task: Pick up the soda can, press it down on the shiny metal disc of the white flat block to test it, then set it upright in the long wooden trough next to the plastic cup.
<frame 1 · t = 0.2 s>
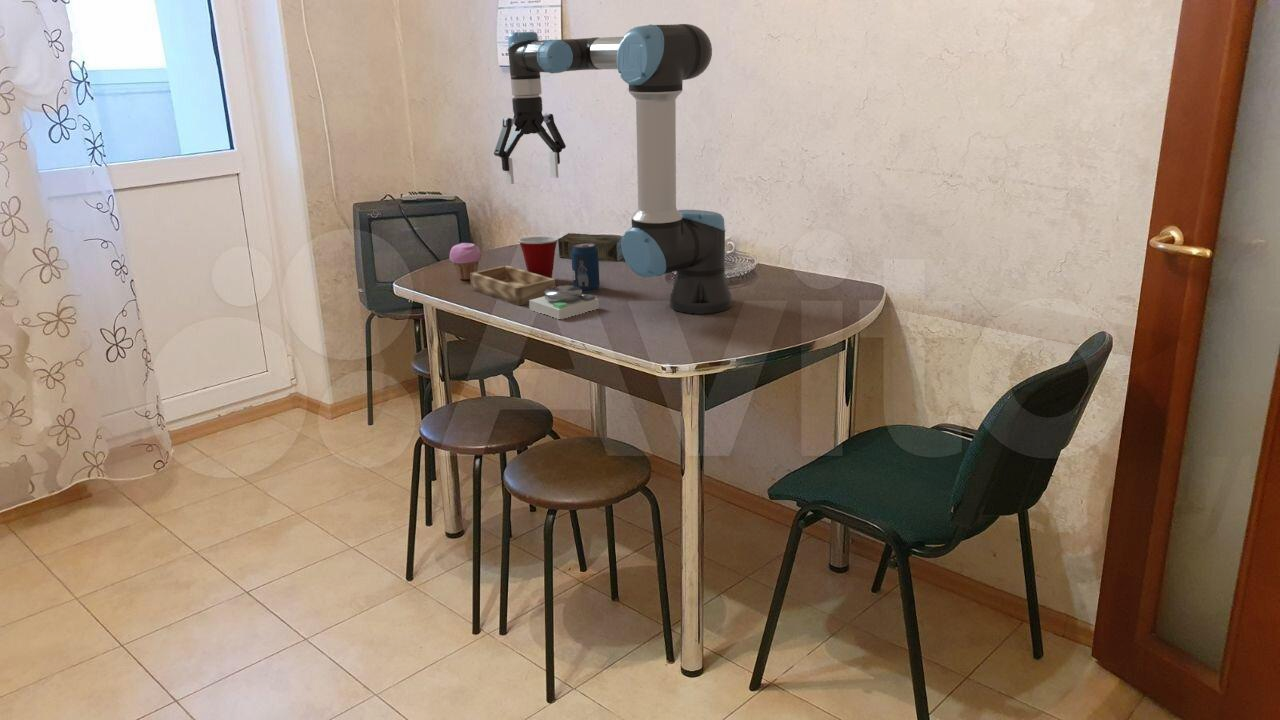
hand: (532, 180, 245), 27 cm above the table, tool pointing down, fingers open, 13 cm apart
plastic cup: (541, 281, 254), on the table
cupcake: (467, 278, 259), on the table
trough: (512, 292, 244), on the table
soda can: (586, 290, 244), on the table
shiny metal disc: (563, 293, 227), point 4 cm above the table, slide at 0.7 cm, touching white flat block
beverage carton: (593, 258, 279), on the table
white flat block: (564, 309, 228), on the table
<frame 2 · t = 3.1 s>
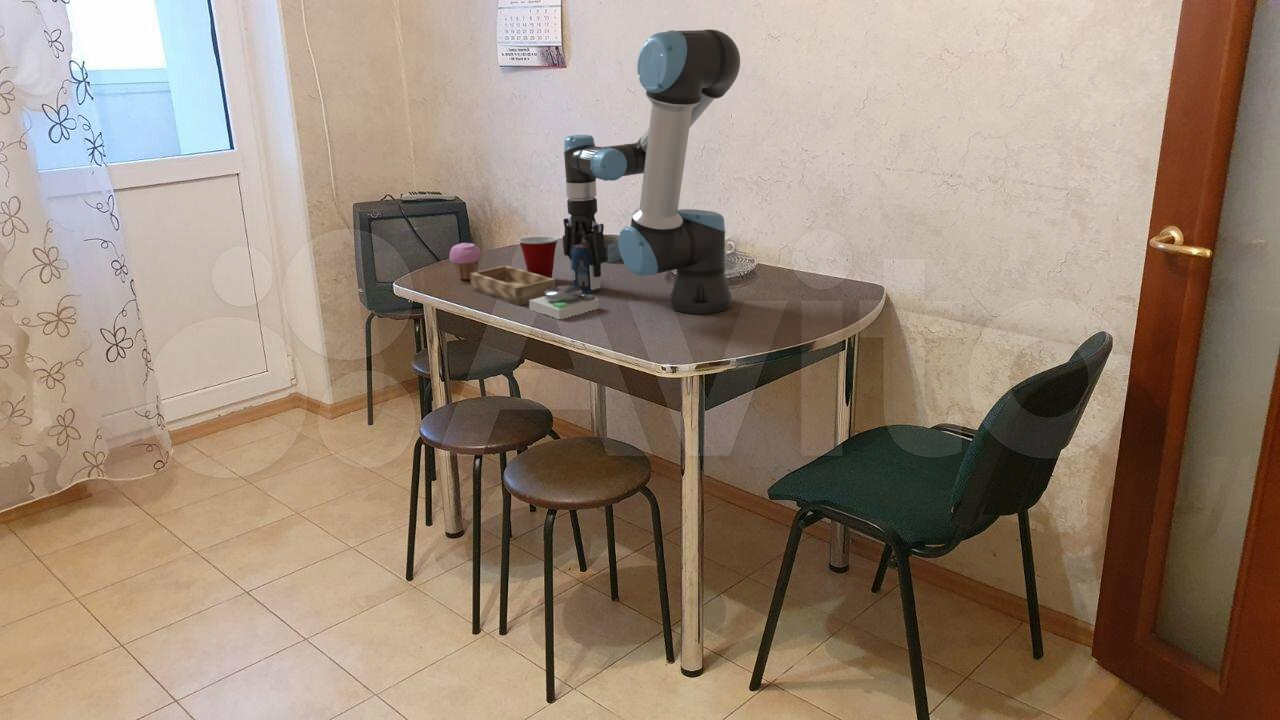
hand: (586, 285, 244), 1 cm above the table, tool pointing down, fingers closed on soda can, 7 cm apart
soda can: (586, 290, 244), on the table, touching gripper
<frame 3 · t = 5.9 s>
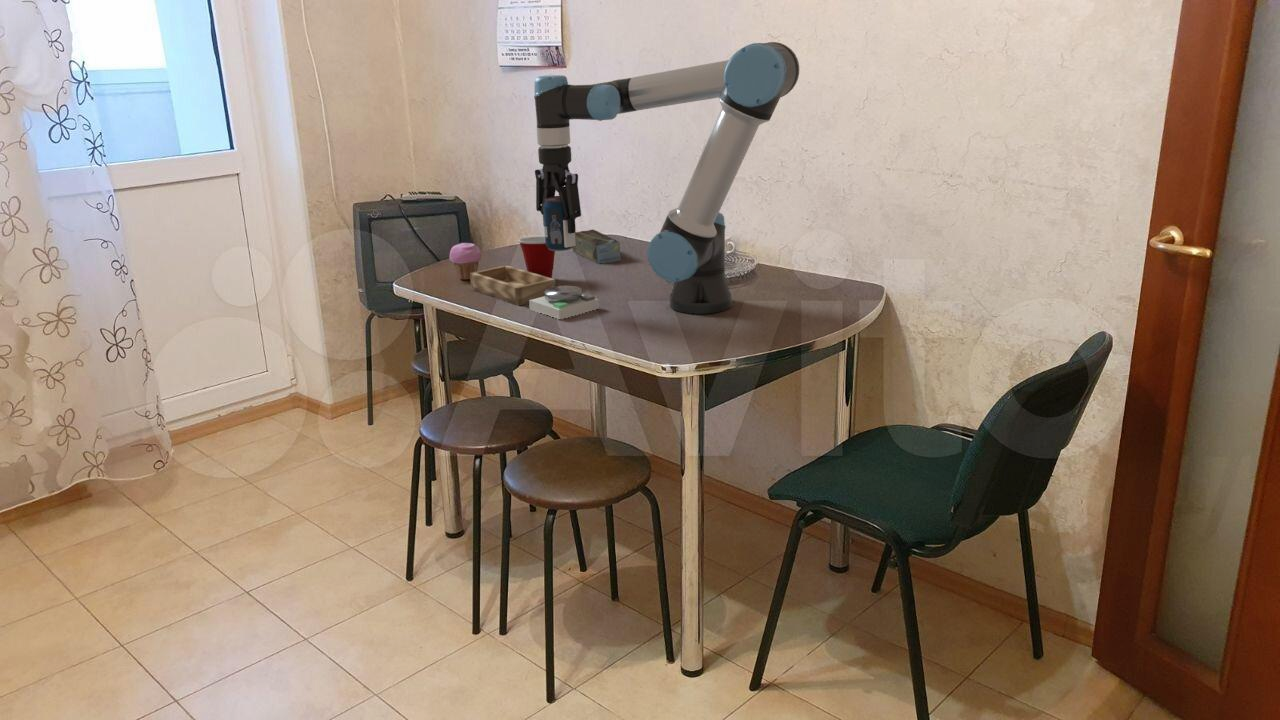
hand: (560, 243, 222), 16 cm above the table, tool pointing down, fingers closed on soda can, 7 cm apart
soda can: (560, 249, 223), point 15 cm above the table, touching gripper
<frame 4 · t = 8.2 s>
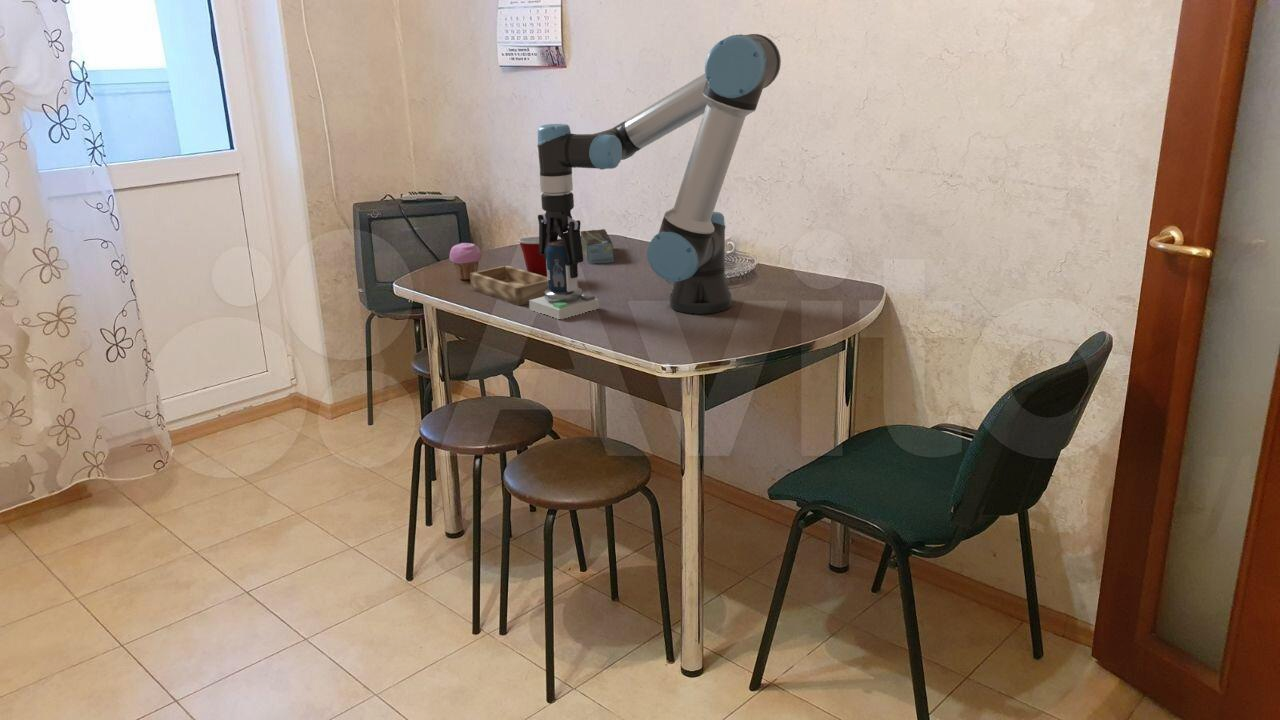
hand: (562, 287, 226), 6 cm above the table, tool pointing down, fingers closed on soda can, 7 cm apart
soda can: (562, 291, 226), point 5 cm above the table, touching gripper, shiny metal disc
shiny metal disc: (563, 293, 227), point 4 cm above the table, slide at 0.7 cm, touching white flat block, soda can
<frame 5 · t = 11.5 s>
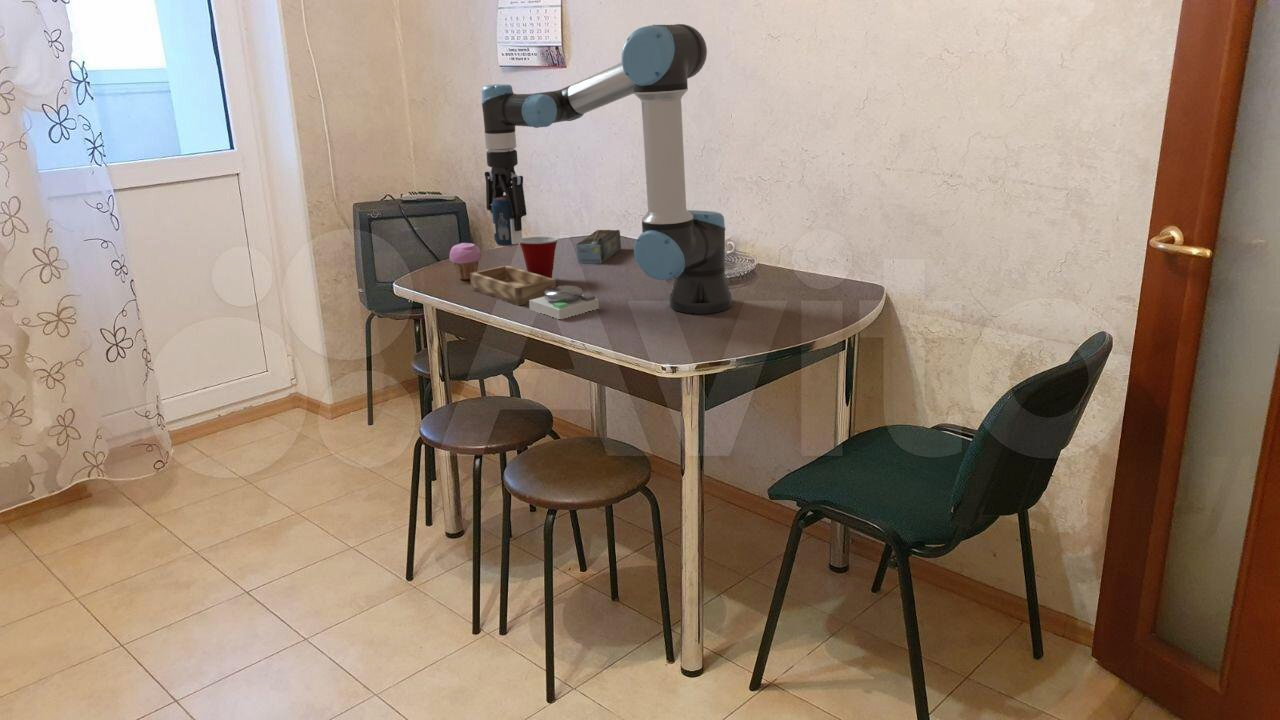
hand: (508, 240, 239), 14 cm above the table, tool pointing down, fingers closed on soda can, 7 cm apart
soda can: (508, 244, 239), point 13 cm above the table, touching gripper
shiny metal disc: (563, 293, 227), point 4 cm above the table, slide at 0.7 cm, touching white flat block
when the fingers open (4 cm above the table, at t = 13.5 s): soda can drops 2 cm, resting on trough.
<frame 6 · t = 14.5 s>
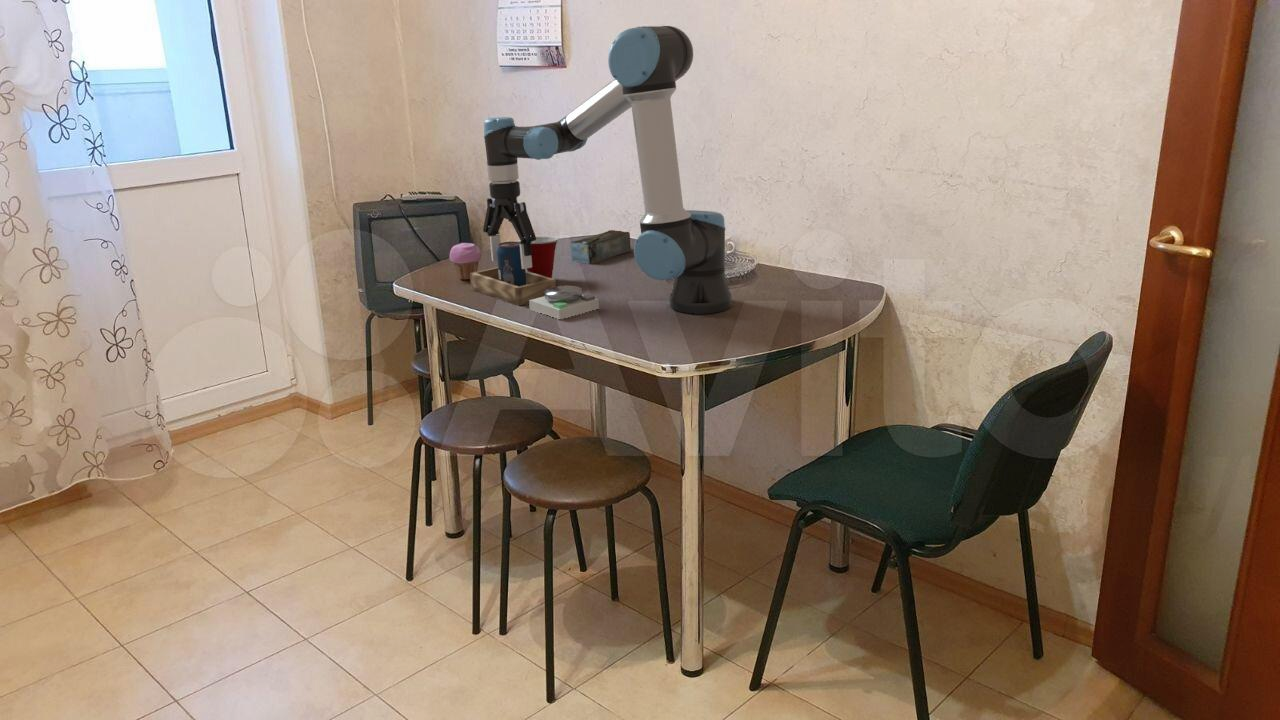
hand: (511, 264, 241), 8 cm above the table, tool pointing down, fingers open, 13 cm apart
soda can: (513, 290, 243), point 1 cm above the table, touching trough
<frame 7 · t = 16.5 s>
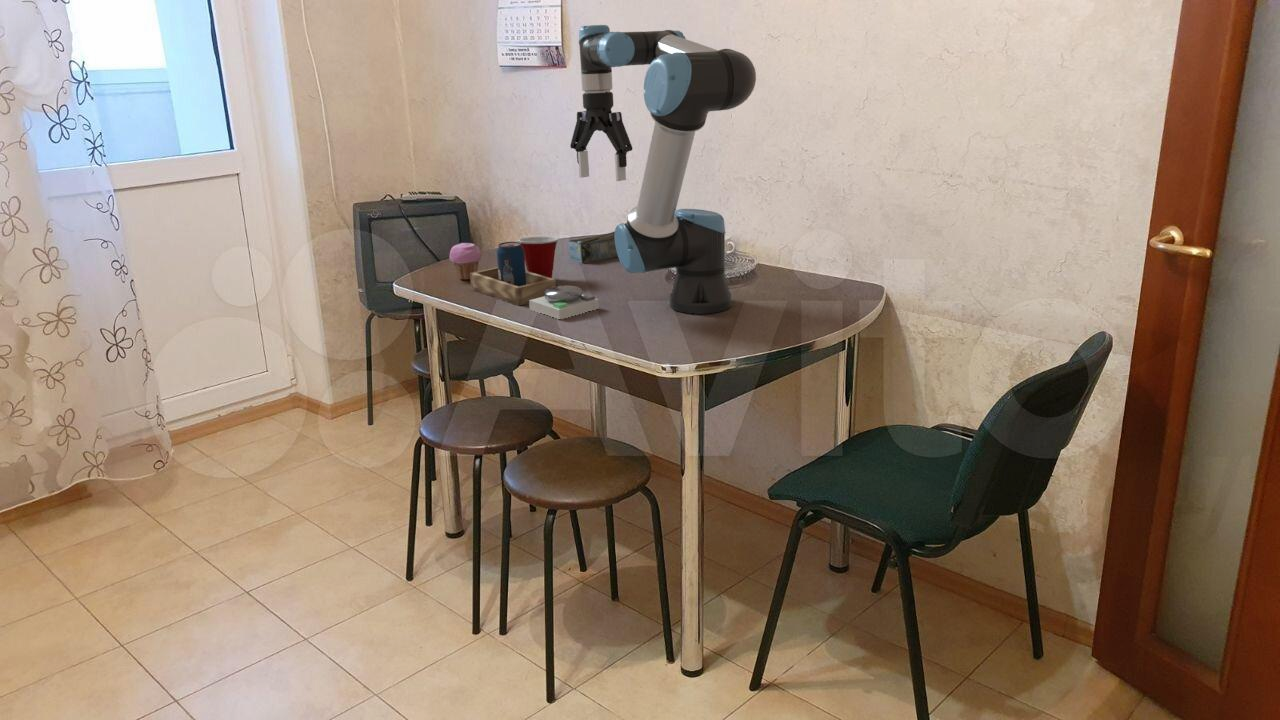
hand: (602, 178, 237), 28 cm above the table, tool pointing down, fingers open, 13 cm apart
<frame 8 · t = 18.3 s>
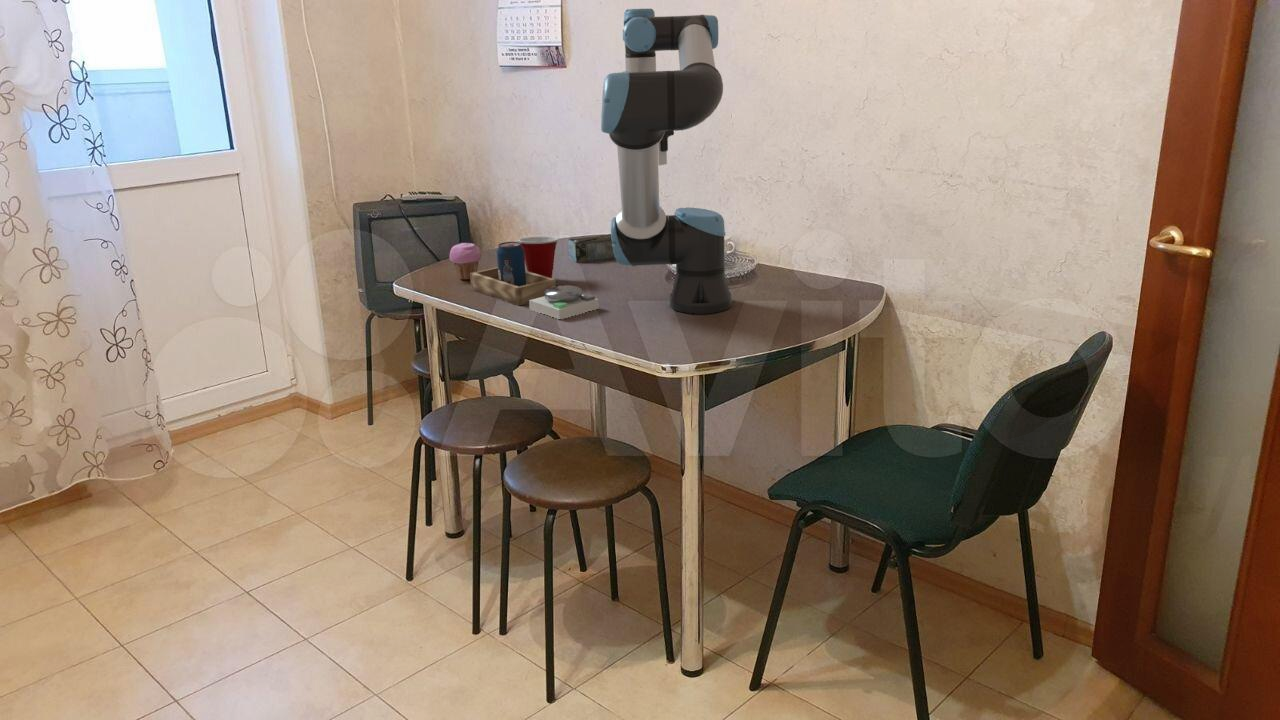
hand: (643, 162, 238), 32 cm above the table, tool pointing down, fingers open, 13 cm apart
at the end: soda can inside the target area on the trough (0.4 cm from its centre), point 0.8 cm above the trough's base; soda can tilted 0°; the gripper is holding nothing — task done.
